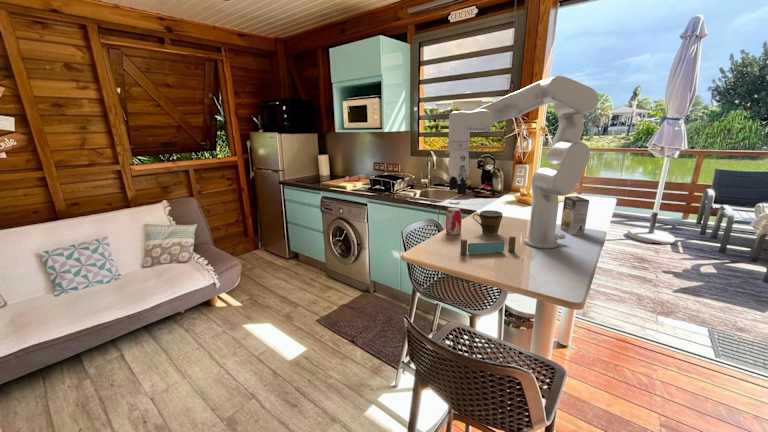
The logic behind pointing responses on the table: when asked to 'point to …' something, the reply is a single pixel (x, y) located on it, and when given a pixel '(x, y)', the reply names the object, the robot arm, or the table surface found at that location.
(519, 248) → the table surface
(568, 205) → the coffee box
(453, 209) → the soda can
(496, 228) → the ceramic cup
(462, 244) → the gate posts
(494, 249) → the bar
